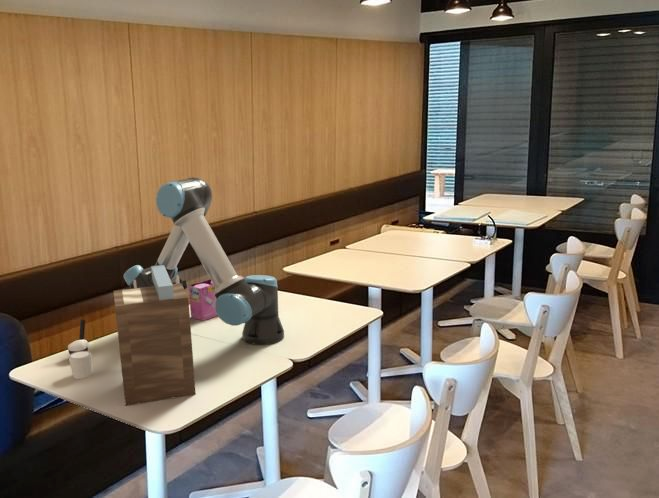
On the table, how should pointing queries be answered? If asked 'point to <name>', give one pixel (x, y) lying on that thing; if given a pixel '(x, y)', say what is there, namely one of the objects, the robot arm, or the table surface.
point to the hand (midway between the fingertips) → (156, 281)
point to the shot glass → (81, 364)
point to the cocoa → (79, 341)
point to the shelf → (154, 344)
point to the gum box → (202, 300)
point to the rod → (162, 282)
